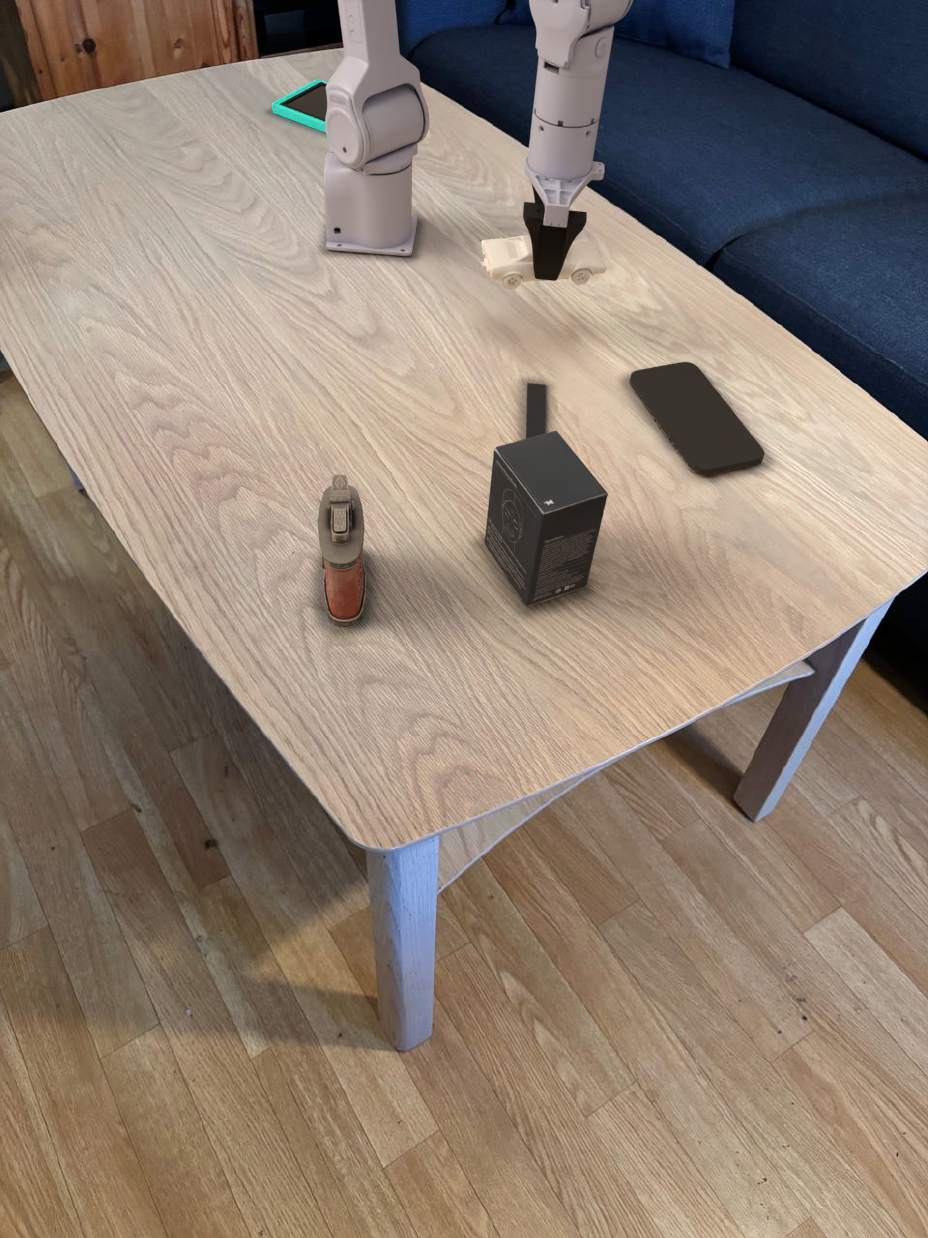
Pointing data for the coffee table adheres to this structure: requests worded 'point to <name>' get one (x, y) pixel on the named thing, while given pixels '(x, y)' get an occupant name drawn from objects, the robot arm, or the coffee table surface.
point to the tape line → (536, 410)
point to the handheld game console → (305, 105)
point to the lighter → (342, 552)
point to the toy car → (517, 261)
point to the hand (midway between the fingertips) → (546, 258)
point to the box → (543, 516)
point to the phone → (696, 418)
